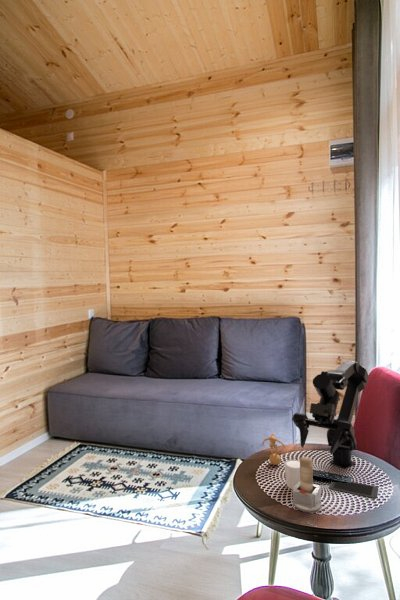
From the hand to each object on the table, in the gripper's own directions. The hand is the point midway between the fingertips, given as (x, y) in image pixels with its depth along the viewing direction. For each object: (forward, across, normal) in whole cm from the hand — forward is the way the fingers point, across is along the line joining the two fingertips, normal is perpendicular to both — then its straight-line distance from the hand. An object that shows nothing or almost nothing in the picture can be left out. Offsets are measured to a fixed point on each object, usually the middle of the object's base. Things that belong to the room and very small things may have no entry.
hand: (316, 450), depth 126 cm
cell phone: (+4, +8, +16) cm, 19 cm away
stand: (+15, 0, +4) cm, 16 cm away
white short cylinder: (+9, -8, +10) cm, 16 cm away
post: (+14, 0, +3) cm, 15 cm away
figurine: (+3, -19, +17) cm, 26 cm away
